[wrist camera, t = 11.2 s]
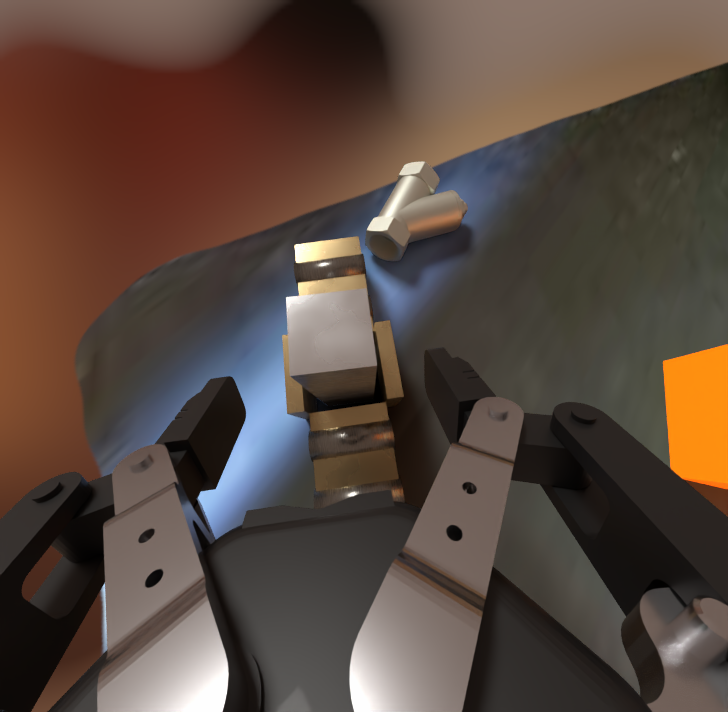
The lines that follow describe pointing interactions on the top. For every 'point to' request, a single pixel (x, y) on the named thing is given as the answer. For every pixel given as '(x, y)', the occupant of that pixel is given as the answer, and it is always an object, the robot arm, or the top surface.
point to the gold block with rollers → (354, 424)
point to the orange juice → (698, 415)
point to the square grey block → (332, 346)
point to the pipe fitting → (413, 213)
